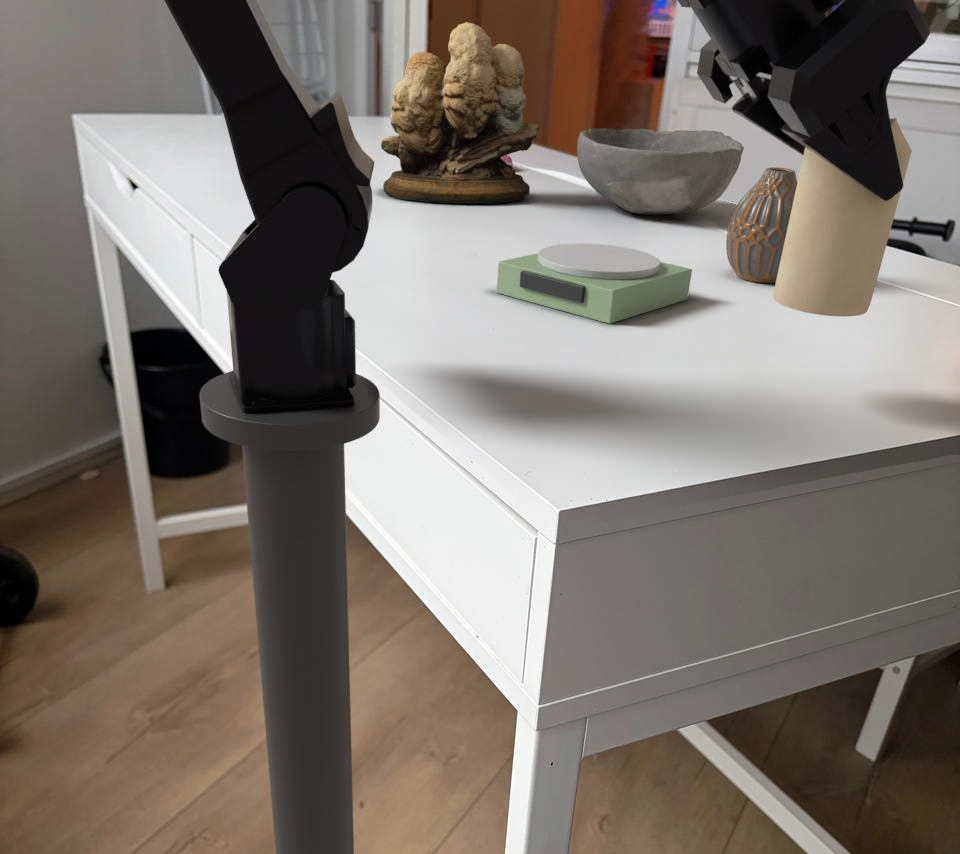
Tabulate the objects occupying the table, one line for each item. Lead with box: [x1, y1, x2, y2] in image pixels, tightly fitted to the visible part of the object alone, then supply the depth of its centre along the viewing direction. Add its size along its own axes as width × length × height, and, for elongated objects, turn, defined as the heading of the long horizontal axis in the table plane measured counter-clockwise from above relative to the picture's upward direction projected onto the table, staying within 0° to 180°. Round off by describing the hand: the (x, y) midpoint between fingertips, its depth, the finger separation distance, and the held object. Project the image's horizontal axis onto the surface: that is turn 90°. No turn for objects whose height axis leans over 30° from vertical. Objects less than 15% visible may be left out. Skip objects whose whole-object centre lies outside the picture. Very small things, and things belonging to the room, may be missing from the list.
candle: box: [773, 117, 912, 317], centre depth 56 cm, size 6×6×10 cm
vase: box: [725, 166, 798, 284], centre depth 86 cm, size 7×7×9 cm
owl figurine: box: [380, 21, 541, 204], centre depth 111 cm, size 18×12×17 cm, turn 105°
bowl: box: [576, 127, 745, 216], centre depth 110 cm, size 18×18×8 cm
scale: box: [496, 242, 693, 325], centre depth 79 cm, size 11×11×3 cm
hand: (873, 185), depth 55 cm, fingers closed on candle, 5 cm apart
